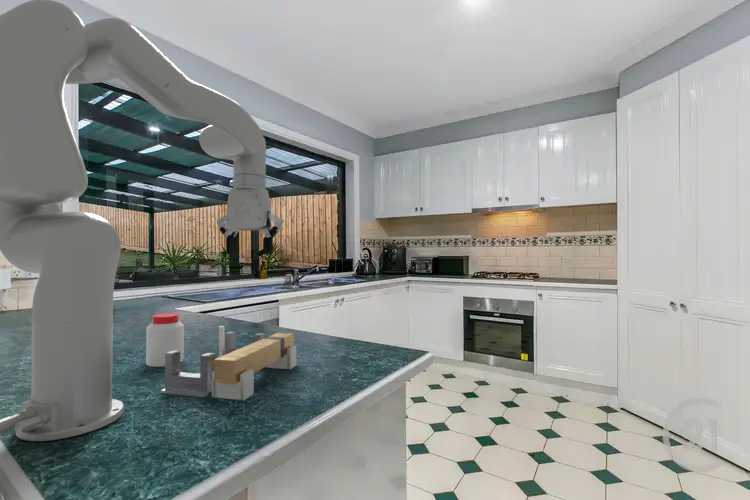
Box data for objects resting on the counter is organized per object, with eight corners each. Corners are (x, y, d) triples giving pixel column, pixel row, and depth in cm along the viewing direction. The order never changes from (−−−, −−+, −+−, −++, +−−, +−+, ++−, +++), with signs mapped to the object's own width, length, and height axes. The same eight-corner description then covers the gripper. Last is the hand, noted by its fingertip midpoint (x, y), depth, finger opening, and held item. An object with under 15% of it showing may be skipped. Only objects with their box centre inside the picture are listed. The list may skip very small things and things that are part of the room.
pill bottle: (154, 369, 83) (155, 319, 83) (140, 362, 87) (140, 315, 88) (189, 361, 89) (190, 314, 89) (174, 355, 94) (174, 311, 94)
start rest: (244, 400, 65) (244, 374, 65) (211, 396, 66) (212, 372, 66) (296, 365, 85) (296, 346, 86) (270, 363, 87) (270, 344, 87)
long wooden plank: (235, 384, 64) (235, 360, 64) (214, 382, 65) (214, 359, 65) (293, 351, 87) (293, 333, 87) (277, 350, 88) (277, 332, 88)
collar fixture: (203, 397, 66) (204, 346, 66) (160, 393, 68) (161, 343, 68) (266, 362, 88) (267, 324, 88) (232, 360, 90) (232, 322, 90)
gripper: (208, 183, 90) (208, 254, 90) (275, 180, 87) (274, 254, 87) (227, 188, 98) (226, 254, 98) (289, 186, 94) (288, 254, 94)
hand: (249, 254), depth 92 cm, fingers open, 9 cm apart
